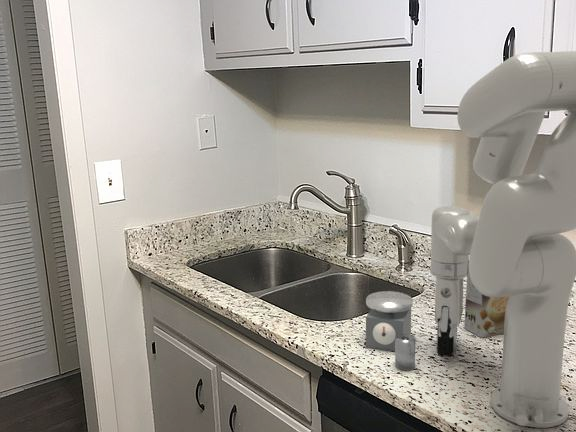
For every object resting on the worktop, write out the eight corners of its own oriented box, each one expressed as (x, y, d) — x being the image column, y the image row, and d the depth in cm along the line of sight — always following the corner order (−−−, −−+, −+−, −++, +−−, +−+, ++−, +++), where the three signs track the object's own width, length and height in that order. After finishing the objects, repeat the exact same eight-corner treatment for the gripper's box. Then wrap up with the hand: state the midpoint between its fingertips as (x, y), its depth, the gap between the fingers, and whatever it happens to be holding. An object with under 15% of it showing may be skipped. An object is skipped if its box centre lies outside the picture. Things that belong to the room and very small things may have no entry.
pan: (408, 321, 125) (408, 310, 124) (361, 316, 128) (361, 305, 128) (415, 304, 134) (416, 293, 133) (371, 299, 137) (371, 289, 137)
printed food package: (481, 339, 132) (485, 269, 128) (463, 328, 138) (466, 261, 134) (515, 331, 135) (519, 263, 131) (495, 321, 141) (499, 255, 137)
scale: (402, 353, 126) (402, 322, 124) (364, 348, 129) (364, 318, 127) (410, 333, 136) (411, 304, 134) (375, 328, 139) (376, 300, 137)
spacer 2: (455, 355, 125) (456, 328, 123) (435, 352, 126) (436, 325, 125) (457, 346, 128) (458, 320, 127) (437, 344, 130) (438, 318, 128)
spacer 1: (413, 372, 118) (413, 344, 117) (393, 369, 120) (393, 341, 118) (416, 363, 122) (417, 335, 120) (397, 360, 123) (397, 333, 122)
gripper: (464, 281, 114) (461, 369, 118) (471, 256, 129) (467, 335, 134) (424, 278, 117) (422, 364, 121) (435, 253, 132) (433, 331, 136)
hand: (446, 348), depth 127 cm, fingers closed on spacer 2, 4 cm apart
